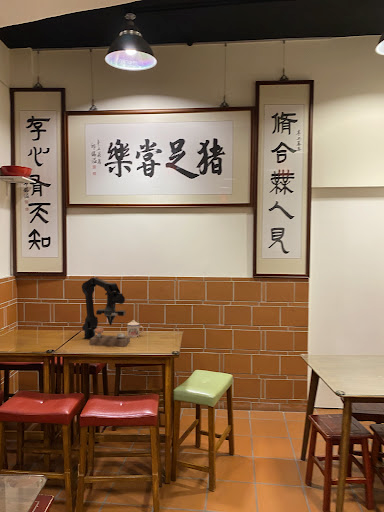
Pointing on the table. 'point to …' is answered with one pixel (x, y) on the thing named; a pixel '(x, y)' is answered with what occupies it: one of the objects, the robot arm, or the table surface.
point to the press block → (109, 341)
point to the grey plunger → (121, 336)
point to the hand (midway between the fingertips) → (110, 325)
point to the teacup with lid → (133, 329)
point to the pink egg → (99, 331)
